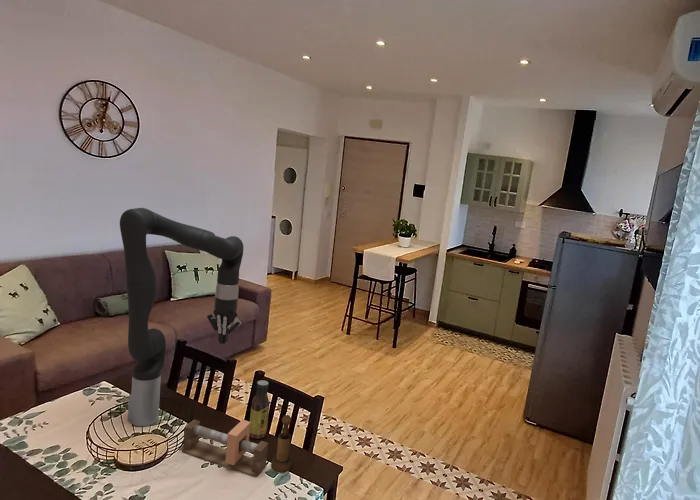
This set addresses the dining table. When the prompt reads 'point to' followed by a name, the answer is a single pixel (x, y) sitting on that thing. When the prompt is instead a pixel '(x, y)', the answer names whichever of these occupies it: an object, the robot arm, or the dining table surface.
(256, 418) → the sauce bottle
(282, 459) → the wooden pepper mill
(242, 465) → the pipe stand
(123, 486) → the dining table surface
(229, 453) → the collar
